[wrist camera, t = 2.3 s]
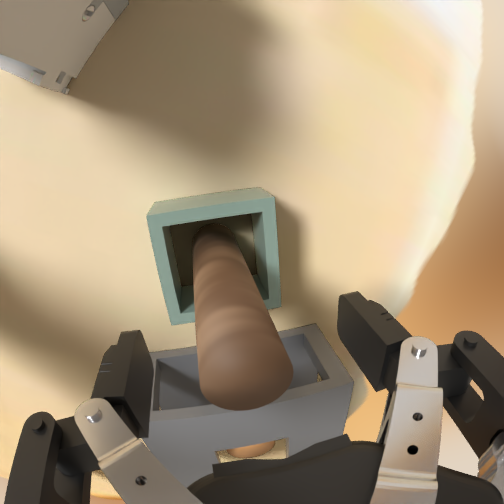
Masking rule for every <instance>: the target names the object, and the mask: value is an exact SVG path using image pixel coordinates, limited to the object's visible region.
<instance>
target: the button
mask: <svg viewBox="0 0 504 504" xmlns="http://www.w3.org/2000/svg"><path fill="white" fill-rule="evenodd" d="M274 445H275V441H270V442H265V443H261V444H256V445H251V446H245V447H240V448H234V449H227V452H228V453H229V454H230V455H232V456H234V457H238V458H252V457H257V456H260V455H262V454H265V453H267V452H268V451H270V450H271V449H272V448H273V447H274Z"/></svg>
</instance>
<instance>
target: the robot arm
mask: <svg viewBox="0 0 504 504" xmlns="http://www.w3.org/2000/svg"><path fill="white" fill-rule="evenodd" d="M337 330H338V335H339V337H340V340H341V341H342V343H343V344H344V345H345V347H346V348H347V350H348V351H349V353H350V354H351V356H352V357H353V359H354V360H355V362H356V363H357V364H358V366H359V367H360V369H361V370H362V372H363V373H364V375H365V376H366V378H367V379H368V381H369V382H370V384H371V385H372V387H373V388H374V390H375V391H376V392H377V391H380V390H383V389H385V388H386V389H387V390H388V391H389V393H388V396H387V401H386V405H385V410H384V414H383V419H382V423H381V427H380V432H379V435H378V438H377V441H376V442H370V441H350V439H349V437H348V435H347V434H344V435H341V436H338V437H335V438H331V439H328V440H325V441H322V442H318V443H315V444H313V445H311V446H310V447H308V448H306V449H304V450H302V451H300V452H298V453H296V454H294V455H292V456H290V457H288V458H285V459H273V460H263V459H244V460H238V461H232V462H225V463H217V464H212V467H213V473H211V474H208V475H206V476H204V477H202V478H200V479H198V480H197V481H195V482H193V483H192V484H191V485H189V486H188V487H187V488H186V487H184V486H183V485H182V484H181V483H180V482H179V481H178V480H177V479H176V478H175V477H174V476H173V475H172V474H171V473H170V472H169V471H168V470H167V469H166V468H165V467H164V466H163V465H162V464H161V463H160V461H159V460H158V459H157V458H156V457H155V456H154V455H153V454H152V453H151V452H150V451H149V449H148V448H147V447H146V446H145V445H144V444H143V443H142V442H141V440H140V439H139V438H148V437H149V422H150V409H151V398H152V387H153V377H154V368H153V362H152V359H151V356H150V354H149V351H148V348H147V346H146V343H145V340H144V338H143V335H142V333H141V331H140V330H134V331H125V332H121V334H120V337H119V341H118V344H117V345H112V346H111V347H110V348H109V349H108V350H107V351H106V353H105V354H104V356H103V360H102V363H101V364H102V365H101V366H100V369H99V373H98V375H97V379H96V382H95V386H94V389H93V392H92V396H91V399H89V400H87V401H85V402H83V403H82V404H81V405H80V406H79V407H78V408H77V409H76V412H75V416H72V417H68V418H65V419H61V420H57V421H56V420H55V419H54V418H53V417H52V415H51V414H49V413H47V412H37V413H35V414H33V415H31V416H30V417H29V418H28V419H27V420H26V422H25V424H24V426H23V429H22V432H21V436H20V439H19V442H18V446H17V449H16V453H15V457H14V460H13V464H12V468H11V473H10V477H9V481H8V486H7V491H6V496H5V502H4V504H90V488H91V474H92V471H95V470H99V469H101V470H102V471H103V473H104V474H105V476H106V477H107V479H108V480H109V482H110V483H111V484H112V486H113V487H114V489H115V490H116V491H117V493H118V494H119V495H120V497H121V498H122V499H123V501H124V502H125V503H126V504H504V358H503V356H501V355H500V353H499V352H497V351H496V350H495V349H494V348H493V347H492V346H491V345H490V344H489V343H488V342H487V341H486V340H485V339H484V338H483V337H482V336H481V335H479V334H478V333H476V332H472V331H461V332H459V333H457V334H456V336H455V338H454V341H453V344H447V345H438V346H436V345H435V343H434V342H432V341H431V340H429V339H427V338H424V337H420V336H415V337H413V336H412V335H411V334H410V333H409V332H407V330H406V329H405V328H404V327H403V326H402V325H401V324H400V323H399V322H398V321H397V320H396V319H394V317H393V316H392V315H391V314H390V313H388V311H387V310H386V309H385V308H384V307H383V306H382V305H380V304H378V303H376V302H374V301H372V300H369V301H367V300H366V299H365V298H364V297H363V296H362V295H361V294H360V293H359V292H358V291H356V292H352V293H347V294H343V295H340V297H339V303H338V321H337ZM472 379H473V381H474V382H475V383H476V384H477V385H478V386H479V388H480V389H481V390H482V391H483V395H484V401H483V400H482V399H481V397H480V396H479V395H478V394H477V392H476V391H475V390H474V389H473V388H472V386H471V385H470V382H471V380H472ZM443 407H444V408H445V409H446V411H447V412H448V414H449V415H450V417H451V418H452V419H453V421H454V422H455V424H456V425H457V426H458V428H459V429H460V431H461V432H462V434H463V435H464V437H465V438H466V440H467V441H468V443H469V444H470V446H471V447H472V449H473V450H474V452H475V453H476V455H477V456H478V458H479V463H478V469H479V472H478V475H477V477H476V476H472V475H468V474H465V473H462V472H458V471H455V470H452V469H448V468H445V467H443V466H440V465H438V458H439V449H440V440H441V426H442V409H443Z"/></svg>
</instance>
